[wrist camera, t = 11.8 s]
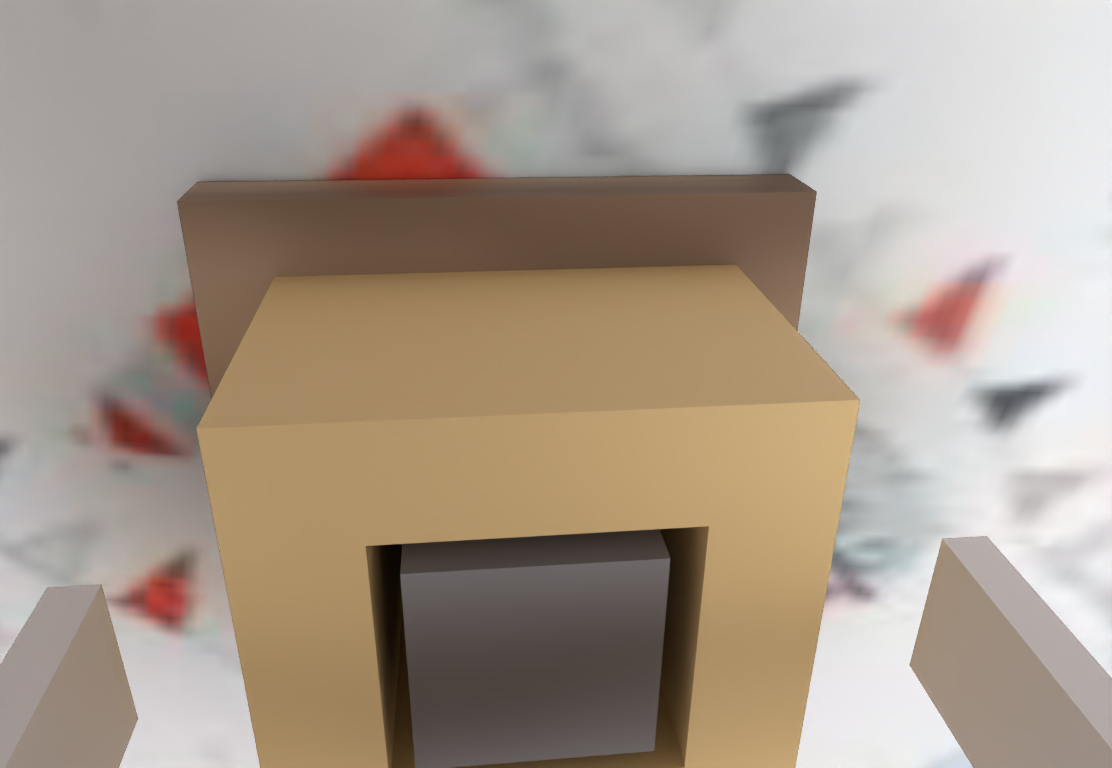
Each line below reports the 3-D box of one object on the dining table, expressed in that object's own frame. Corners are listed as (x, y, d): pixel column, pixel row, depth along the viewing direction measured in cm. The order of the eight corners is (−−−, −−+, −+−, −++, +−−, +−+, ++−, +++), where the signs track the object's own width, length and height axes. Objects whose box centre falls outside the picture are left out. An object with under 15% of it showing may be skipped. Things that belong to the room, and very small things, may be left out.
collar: (274, 276, 17) (195, 427, 12) (735, 264, 18) (860, 399, 13) (323, 643, 21) (282, 883, 16) (700, 618, 22) (783, 835, 17)
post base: (197, 181, 18) (44, 326, 11) (790, 174, 19) (980, 299, 12) (273, 653, 23) (202, 947, 16) (733, 622, 24) (845, 883, 17)
